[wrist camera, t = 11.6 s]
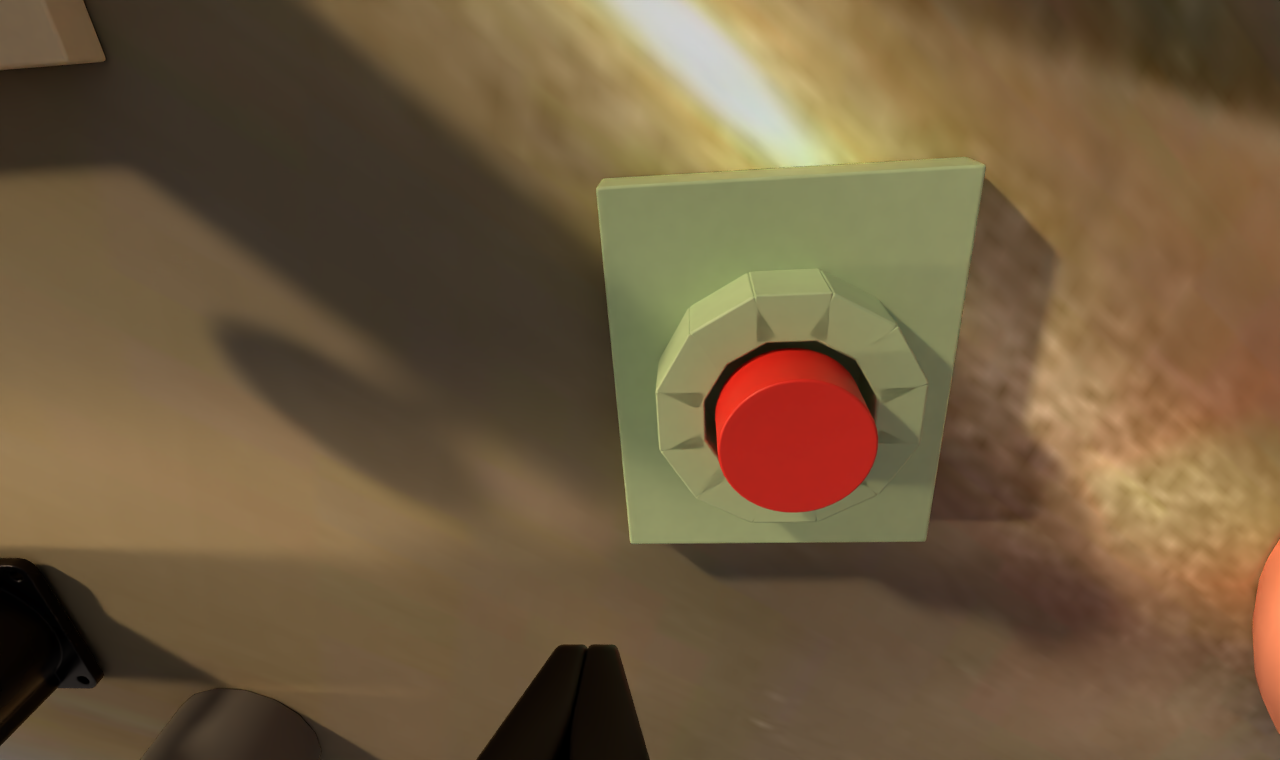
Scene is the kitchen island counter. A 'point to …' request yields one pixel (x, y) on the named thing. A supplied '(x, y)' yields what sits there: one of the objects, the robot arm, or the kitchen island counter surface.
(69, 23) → the switch bracket
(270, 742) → the candle holder
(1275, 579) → the teapot
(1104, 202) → the kitchen island counter surface
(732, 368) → the button housing
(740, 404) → the button
